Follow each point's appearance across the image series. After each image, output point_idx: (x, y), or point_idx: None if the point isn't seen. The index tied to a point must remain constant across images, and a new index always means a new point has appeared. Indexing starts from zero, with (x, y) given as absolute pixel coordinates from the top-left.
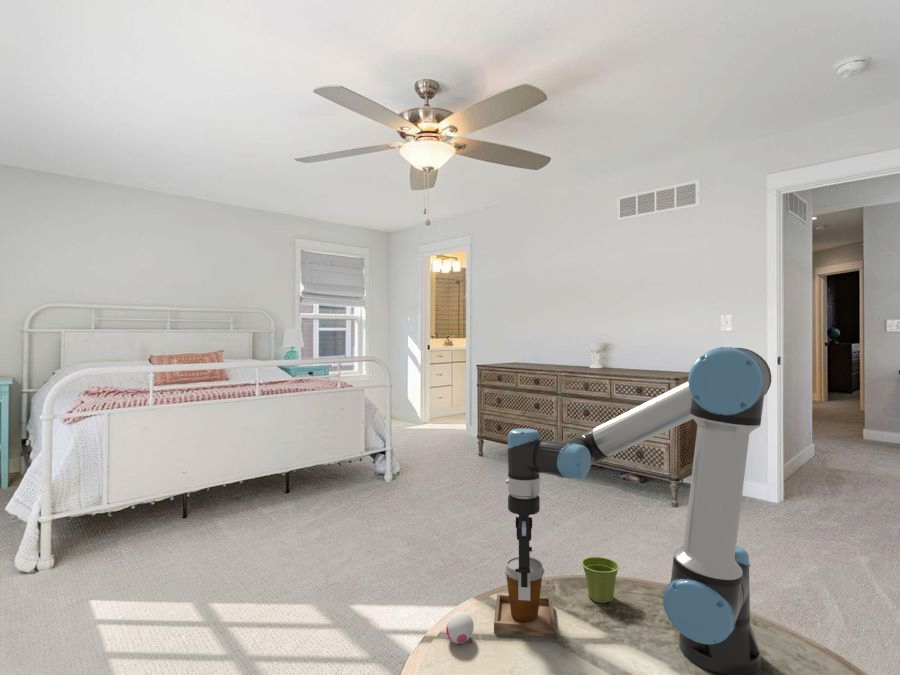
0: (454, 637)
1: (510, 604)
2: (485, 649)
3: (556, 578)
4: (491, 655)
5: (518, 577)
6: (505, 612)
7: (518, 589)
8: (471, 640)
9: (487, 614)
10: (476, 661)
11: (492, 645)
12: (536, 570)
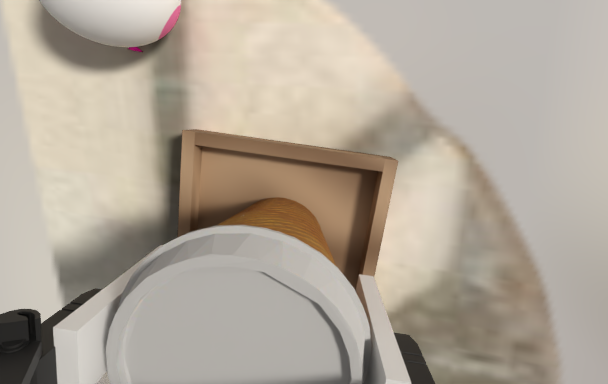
0: None
1: (259, 204)
2: (103, 95)
3: (547, 380)
4: (77, 112)
5: (88, 302)
6: (296, 179)
7: (132, 266)
8: (134, 48)
9: (307, 115)
10: (40, 63)
11: (127, 119)
12: None
